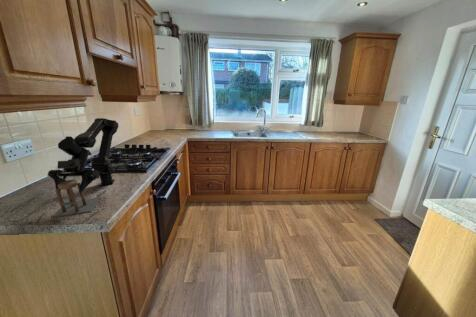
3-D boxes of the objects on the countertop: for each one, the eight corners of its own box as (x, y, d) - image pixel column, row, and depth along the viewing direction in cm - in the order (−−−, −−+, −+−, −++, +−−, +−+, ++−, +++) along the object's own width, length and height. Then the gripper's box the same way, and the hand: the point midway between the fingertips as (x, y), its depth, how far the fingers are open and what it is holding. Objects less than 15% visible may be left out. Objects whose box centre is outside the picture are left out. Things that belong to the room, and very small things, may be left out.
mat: (65, 203, 96) (65, 202, 96) (99, 198, 100) (99, 197, 100) (52, 217, 85) (52, 216, 85) (91, 211, 89) (91, 210, 89)
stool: (72, 204, 94) (64, 180, 90) (87, 204, 94) (80, 179, 90) (62, 212, 88) (53, 186, 84) (77, 212, 88) (69, 186, 84)
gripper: (43, 152, 86) (29, 188, 80) (89, 151, 88) (79, 186, 81) (62, 163, 96) (51, 195, 90) (103, 162, 98) (95, 193, 91)
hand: (68, 192), depth 88 cm, fingers open, 9 cm apart
